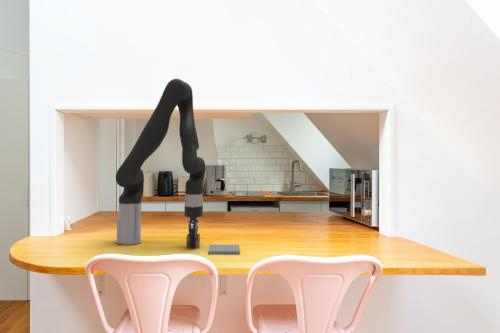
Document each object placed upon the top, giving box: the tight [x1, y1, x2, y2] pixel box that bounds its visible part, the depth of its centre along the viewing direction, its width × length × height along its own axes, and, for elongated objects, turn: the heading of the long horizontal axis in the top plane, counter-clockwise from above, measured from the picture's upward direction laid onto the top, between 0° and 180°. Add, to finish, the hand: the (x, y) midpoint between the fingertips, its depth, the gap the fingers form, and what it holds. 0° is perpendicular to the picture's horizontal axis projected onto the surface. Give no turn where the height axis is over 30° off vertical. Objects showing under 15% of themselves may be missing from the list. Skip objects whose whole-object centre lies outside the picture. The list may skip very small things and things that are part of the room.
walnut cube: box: [185, 233, 201, 249], centre depth 160 cm, size 5×5×5 cm
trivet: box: [208, 244, 241, 255], centre depth 154 cm, size 12×12×1 cm
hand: (193, 245), depth 160 cm, fingers closed on walnut cube, 5 cm apart
